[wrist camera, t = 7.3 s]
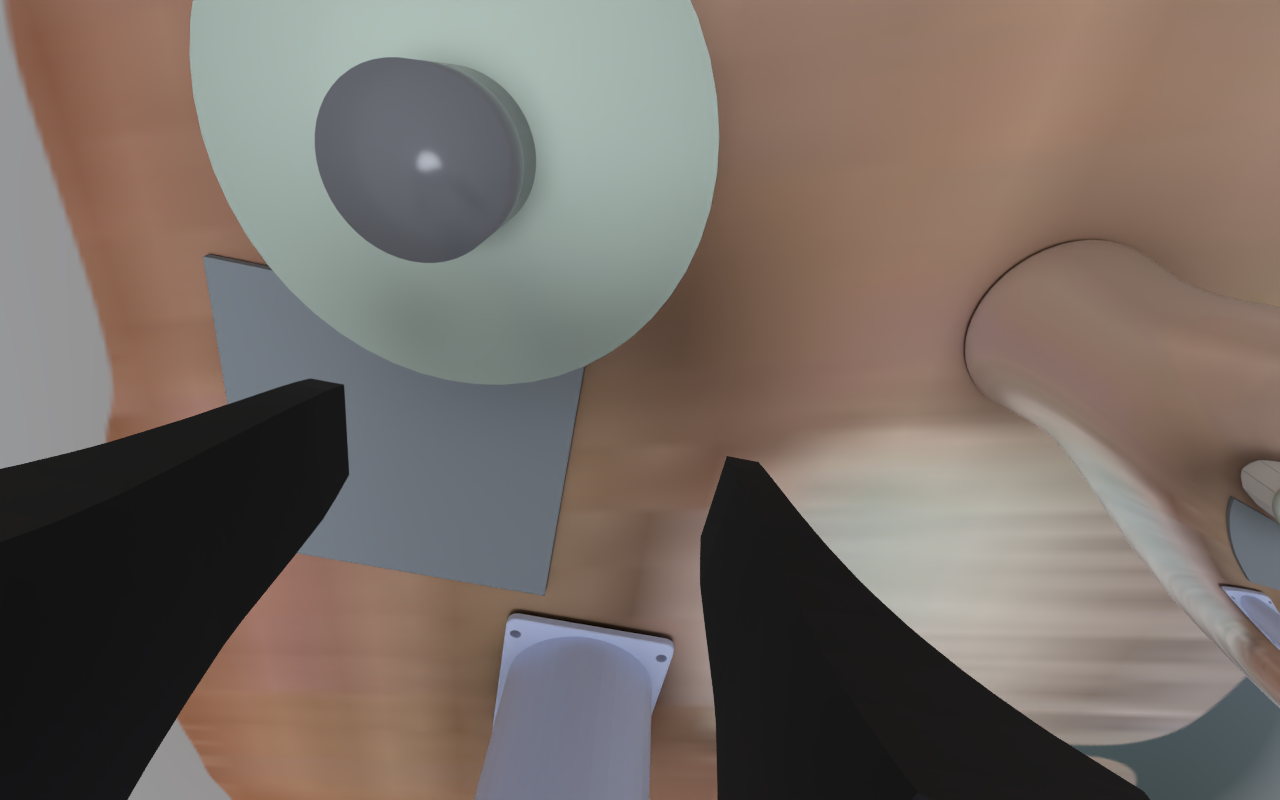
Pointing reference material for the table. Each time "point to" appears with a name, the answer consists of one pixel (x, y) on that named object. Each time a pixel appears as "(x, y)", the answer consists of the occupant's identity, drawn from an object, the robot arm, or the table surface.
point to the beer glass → (1155, 422)
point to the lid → (465, 168)
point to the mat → (410, 443)
